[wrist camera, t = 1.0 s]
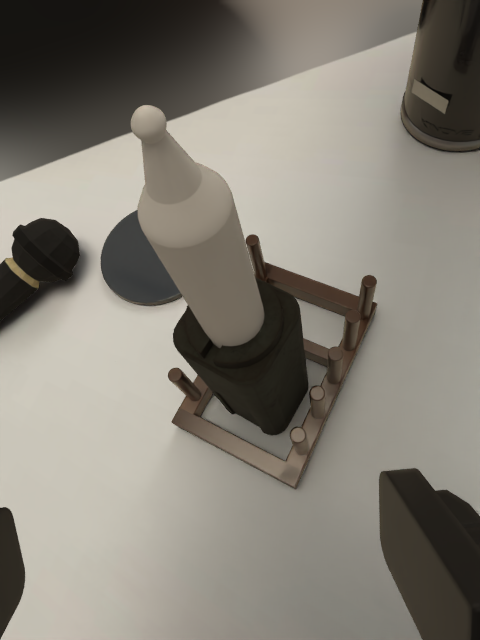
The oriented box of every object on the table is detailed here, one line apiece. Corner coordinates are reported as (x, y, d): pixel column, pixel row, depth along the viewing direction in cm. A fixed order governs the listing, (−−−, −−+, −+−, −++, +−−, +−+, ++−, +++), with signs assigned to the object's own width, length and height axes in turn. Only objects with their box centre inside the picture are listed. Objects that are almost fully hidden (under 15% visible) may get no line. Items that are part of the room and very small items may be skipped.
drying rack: (263, 270, 37) (252, 223, 31) (375, 312, 34) (386, 268, 28) (177, 426, 33) (146, 405, 27) (295, 489, 30) (289, 481, 24)
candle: (218, 405, 33) (-4, 155, 11) (253, 347, 35) (124, 18, 12) (279, 441, 31) (167, 233, 9) (314, 379, 33) (293, 61, 10)
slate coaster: (141, 194, 43) (139, 189, 42) (234, 226, 39) (233, 222, 39) (81, 281, 40) (78, 277, 39) (176, 323, 36) (174, 320, 36)
